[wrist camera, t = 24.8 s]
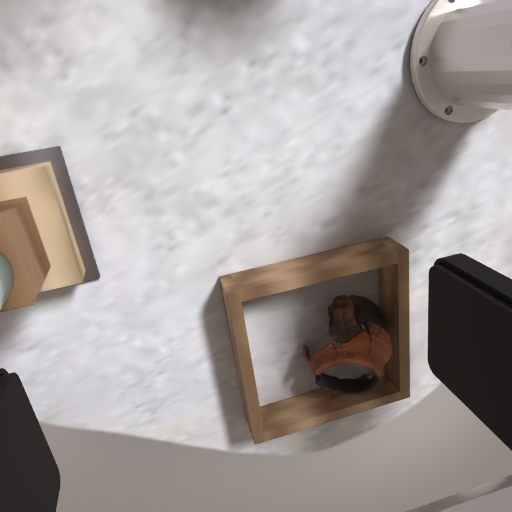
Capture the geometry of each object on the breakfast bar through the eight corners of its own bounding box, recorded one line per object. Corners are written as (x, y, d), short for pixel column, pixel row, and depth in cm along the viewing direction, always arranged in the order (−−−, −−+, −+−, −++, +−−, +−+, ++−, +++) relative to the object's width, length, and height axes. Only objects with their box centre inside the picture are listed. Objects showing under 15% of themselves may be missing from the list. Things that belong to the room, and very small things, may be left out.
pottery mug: (392, 331, 54) (402, 396, 48) (315, 341, 56) (315, 403, 51) (374, 263, 46) (383, 330, 40) (285, 279, 49) (281, 344, 43)
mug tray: (387, 236, 48) (408, 249, 44) (391, 376, 55) (409, 397, 52) (219, 276, 45) (226, 294, 41) (246, 419, 52) (254, 444, 48)
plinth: (59, 146, 37) (54, 151, 34) (100, 276, 42) (97, 290, 39) (-101, 173, 35) (-121, 181, 32) (-40, 307, 40) (-52, 324, 37)
